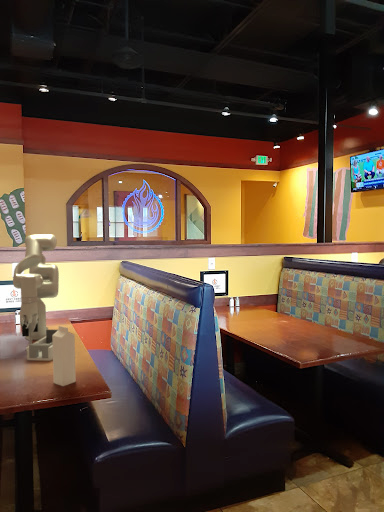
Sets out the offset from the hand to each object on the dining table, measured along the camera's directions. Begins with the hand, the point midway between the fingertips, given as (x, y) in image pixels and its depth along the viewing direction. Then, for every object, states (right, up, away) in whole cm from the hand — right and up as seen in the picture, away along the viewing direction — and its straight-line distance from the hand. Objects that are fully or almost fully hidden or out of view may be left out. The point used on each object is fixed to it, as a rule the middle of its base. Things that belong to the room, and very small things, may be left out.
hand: (30, 333), depth 205 cm
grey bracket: (+11, -8, -6) cm, 16 cm away
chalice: (0, -8, +1) cm, 8 cm away
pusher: (+11, -7, -7) cm, 15 cm away
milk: (+31, -11, -45) cm, 56 cm away
